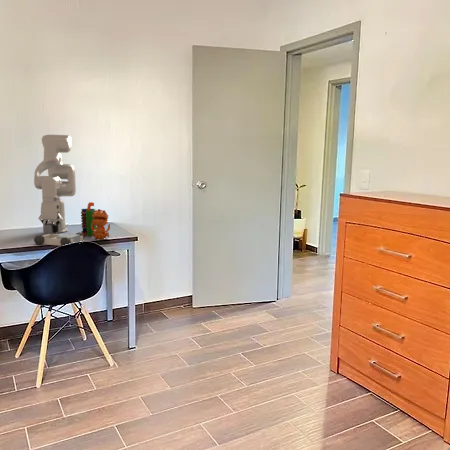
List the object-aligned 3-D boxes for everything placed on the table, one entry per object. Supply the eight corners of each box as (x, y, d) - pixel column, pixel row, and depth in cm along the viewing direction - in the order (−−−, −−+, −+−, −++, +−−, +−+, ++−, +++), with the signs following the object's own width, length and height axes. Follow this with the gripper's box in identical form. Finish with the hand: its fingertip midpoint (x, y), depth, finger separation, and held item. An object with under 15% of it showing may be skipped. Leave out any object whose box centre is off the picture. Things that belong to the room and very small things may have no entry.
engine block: (50, 231, 254) (50, 220, 253) (58, 231, 253) (58, 220, 252) (43, 233, 247) (42, 222, 246) (51, 234, 246) (51, 222, 245)
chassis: (50, 238, 260) (50, 230, 259) (85, 241, 256) (84, 232, 255) (33, 244, 245) (33, 235, 244) (69, 247, 240) (69, 238, 239)
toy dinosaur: (88, 240, 258) (87, 209, 255) (94, 236, 269) (93, 207, 266) (107, 240, 258) (106, 210, 255) (112, 237, 268) (111, 207, 265)
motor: (77, 234, 274) (76, 202, 270) (91, 232, 280) (90, 201, 277) (86, 237, 267) (85, 204, 263) (99, 235, 273) (98, 202, 270)
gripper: (67, 199, 249) (68, 231, 252) (40, 198, 252) (41, 229, 255) (59, 201, 242) (61, 234, 245) (31, 199, 245) (33, 232, 248)
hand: (51, 231), depth 250 cm, fingers closed on engine block, 5 cm apart
